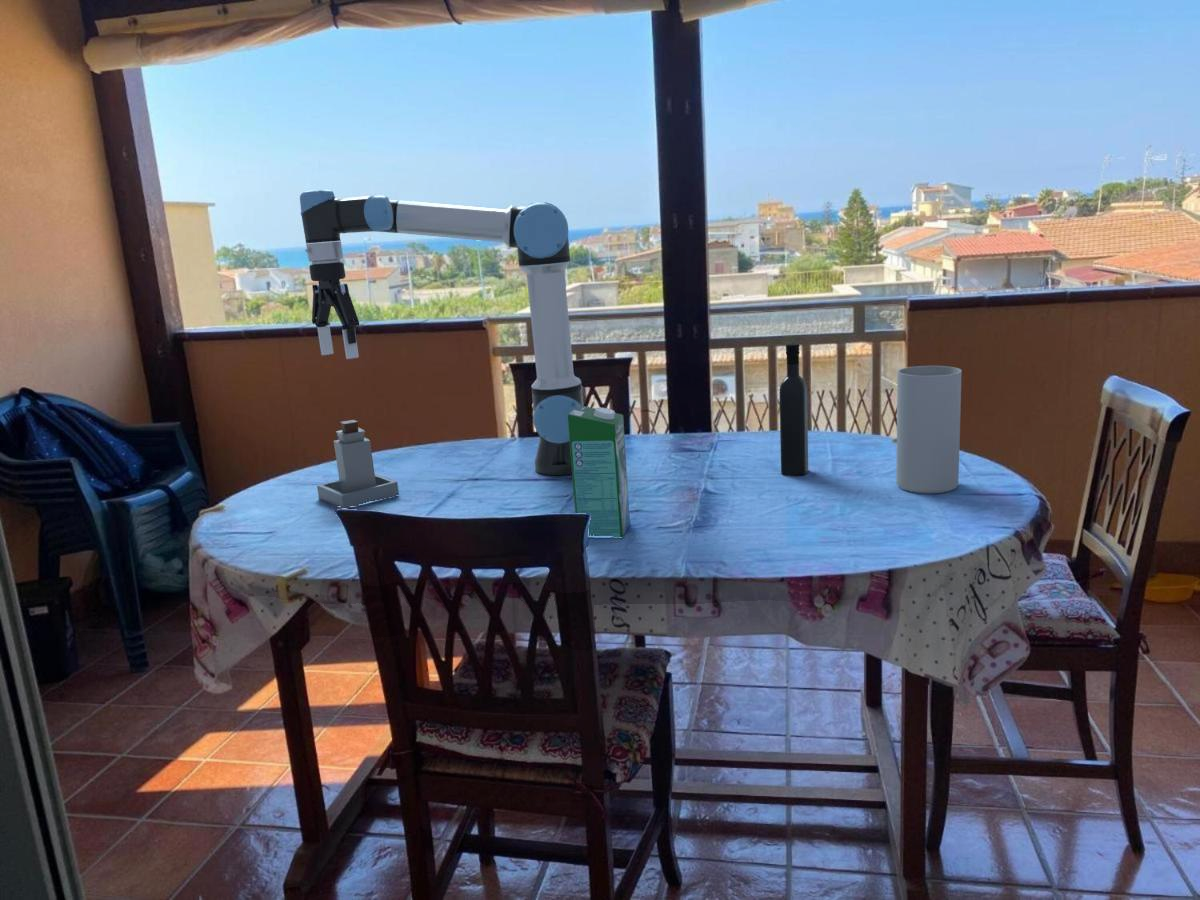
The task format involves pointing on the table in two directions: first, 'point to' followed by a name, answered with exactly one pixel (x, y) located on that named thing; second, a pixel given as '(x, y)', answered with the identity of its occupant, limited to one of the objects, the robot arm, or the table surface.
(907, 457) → the cylinder vase
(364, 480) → the perfume bottle
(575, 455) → the milk carton
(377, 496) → the tray
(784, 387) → the wine bottle
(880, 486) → the table surface
